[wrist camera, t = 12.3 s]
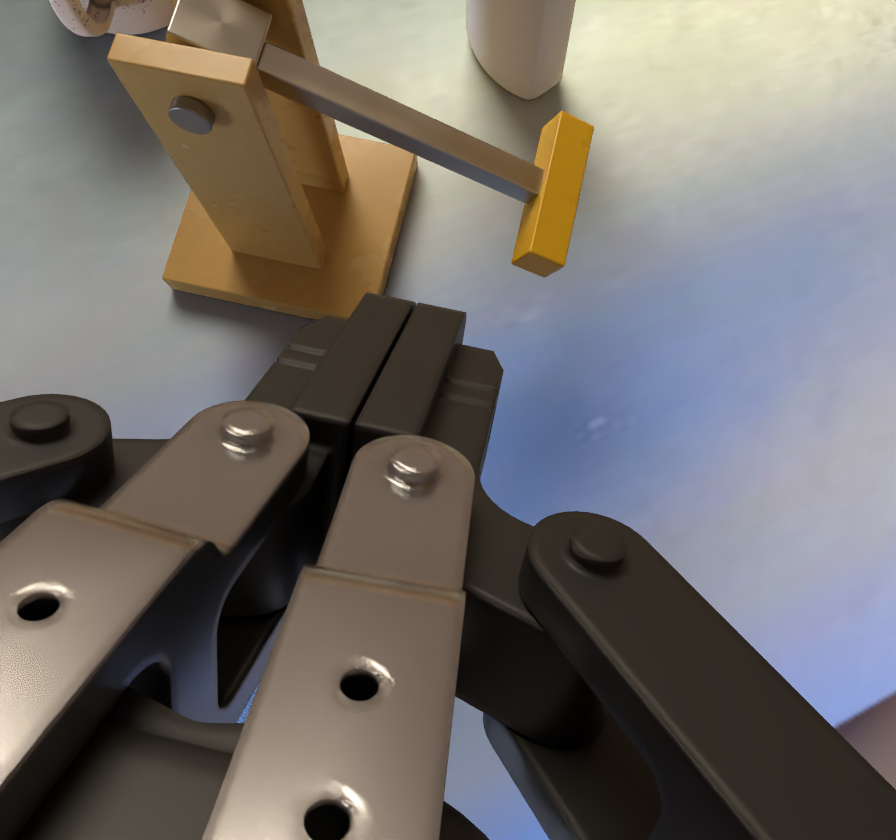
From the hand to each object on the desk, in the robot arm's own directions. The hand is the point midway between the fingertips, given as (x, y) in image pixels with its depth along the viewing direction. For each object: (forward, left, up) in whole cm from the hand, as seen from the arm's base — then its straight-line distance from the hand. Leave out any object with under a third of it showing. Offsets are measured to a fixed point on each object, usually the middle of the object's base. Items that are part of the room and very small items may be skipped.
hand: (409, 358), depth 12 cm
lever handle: (-5, +12, -15) cm, 20 cm away
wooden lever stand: (-10, +12, -24) cm, 29 cm away
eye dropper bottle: (-2, +24, -24) cm, 34 cm away
